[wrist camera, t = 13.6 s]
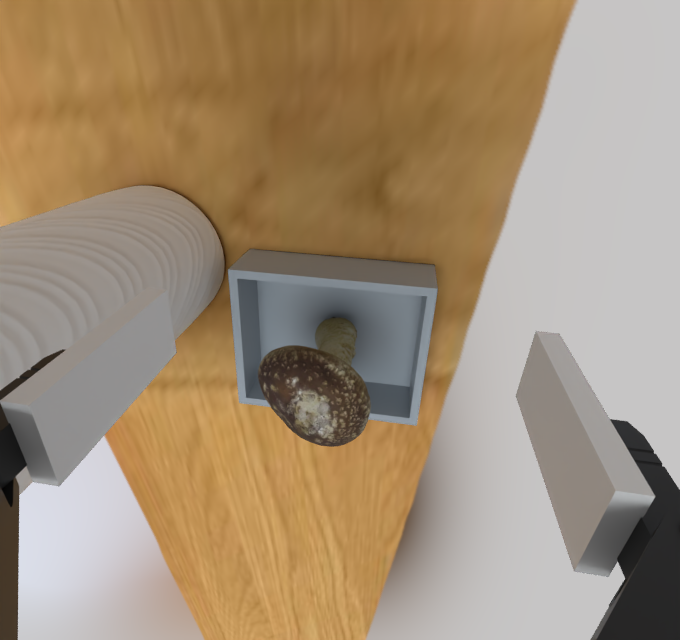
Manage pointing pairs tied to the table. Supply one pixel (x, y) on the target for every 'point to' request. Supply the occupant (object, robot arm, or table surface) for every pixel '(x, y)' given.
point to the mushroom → (318, 386)
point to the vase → (100, 271)
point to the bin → (337, 301)
